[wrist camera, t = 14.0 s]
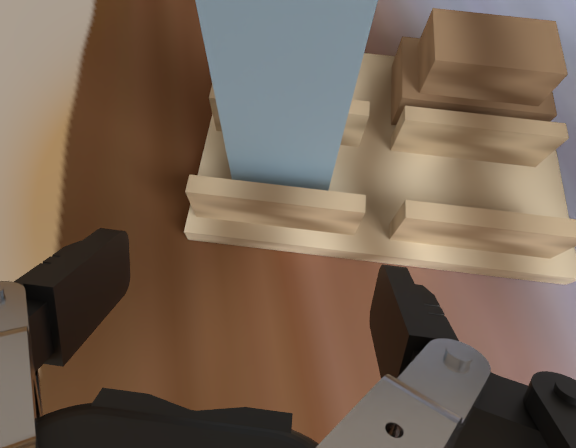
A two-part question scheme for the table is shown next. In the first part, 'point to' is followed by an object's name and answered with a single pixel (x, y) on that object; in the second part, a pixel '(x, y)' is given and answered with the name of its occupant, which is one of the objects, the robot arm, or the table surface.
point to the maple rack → (406, 192)
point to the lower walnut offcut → (408, 95)
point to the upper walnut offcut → (490, 57)
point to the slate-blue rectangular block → (284, 83)
